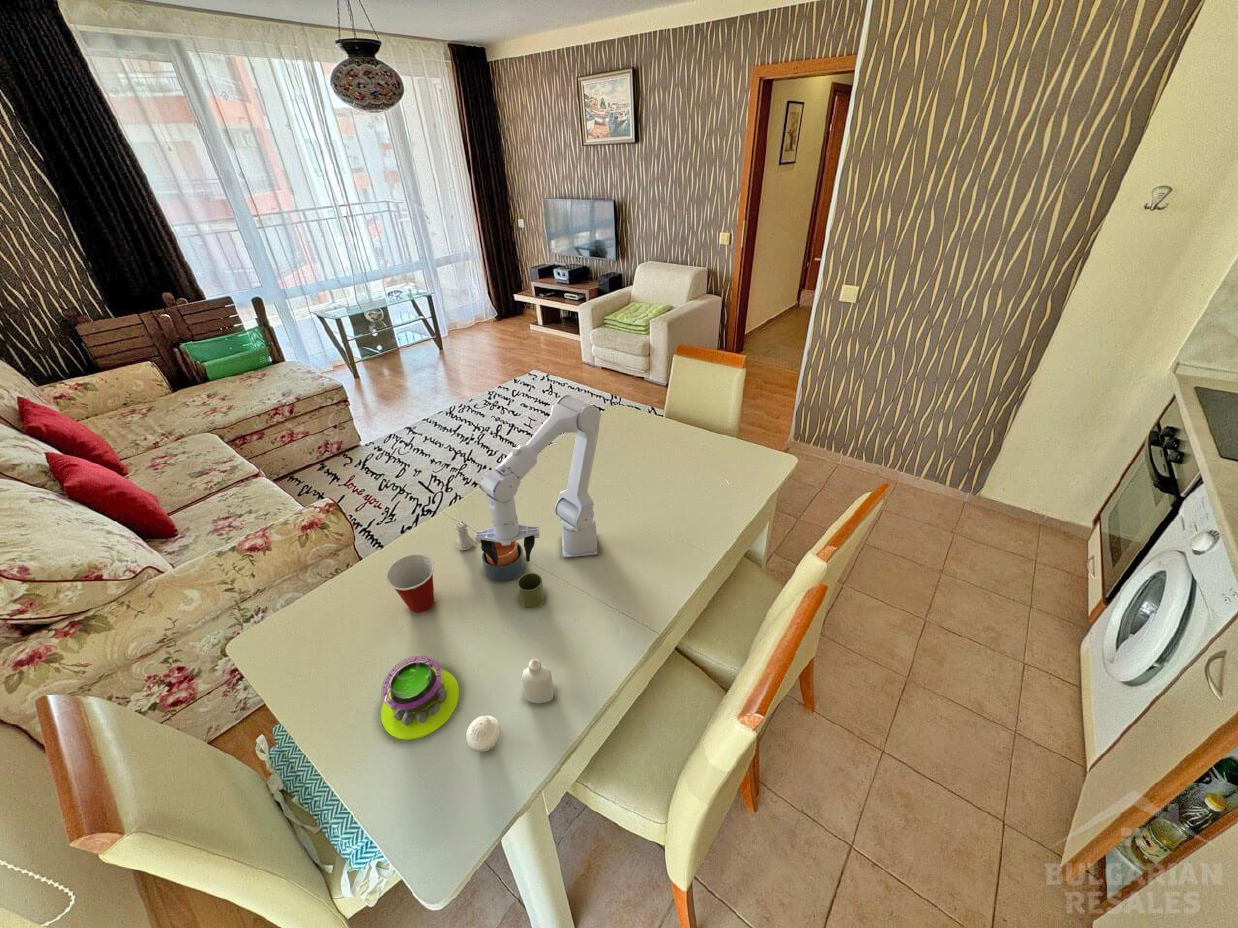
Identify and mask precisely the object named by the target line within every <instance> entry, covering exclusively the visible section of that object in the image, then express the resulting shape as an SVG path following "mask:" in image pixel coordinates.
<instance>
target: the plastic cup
mask: <svg viewBox="0 0 1238 928" xmlns="http://www.w3.org/2000/svg"><path fill="white" fill-rule="evenodd" d="M434 572H435V561H434V560H433V559H432V557H431V556H429V555H427V554H424V553H417V552H415V553H411V554H406V555H403V556H402V557H400V558H397V559H396V560H395V561H394V562H392V563H391V564H390V565H389V567H388V569H387V570H386V572H385V580H386V583H387V585H388V586H389V587H391V588H392V589H394V590H395V591H396V593H398V596H399V597H400V598H401V599H402V601H403V602H404V604H406V606H407V607H408V609H409V610H410V611H411V612H413V613H415V614H420V613H424V612H426V611H428V610H430V609H431V608H432V606H433V605H434V603H435V602H434V601H435V593H434V590H435V589H434Z"/></svg>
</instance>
